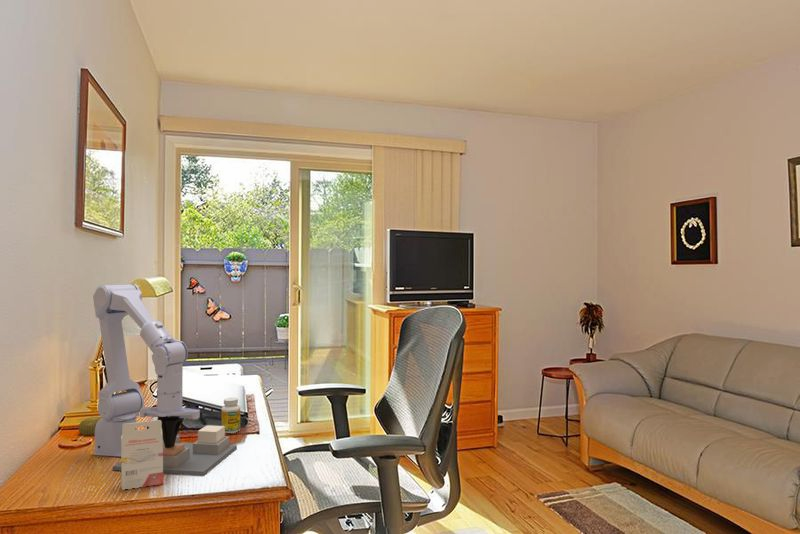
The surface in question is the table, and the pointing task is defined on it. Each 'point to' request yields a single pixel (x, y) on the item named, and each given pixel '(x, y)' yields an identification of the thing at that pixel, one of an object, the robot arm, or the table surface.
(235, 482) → the table surface
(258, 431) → the table surface
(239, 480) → the table surface
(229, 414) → the supplement bottle
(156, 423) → the ink cartridge box
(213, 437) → the cream button
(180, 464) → the board
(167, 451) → the terracotta button
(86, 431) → the sculpture
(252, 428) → the table surface
